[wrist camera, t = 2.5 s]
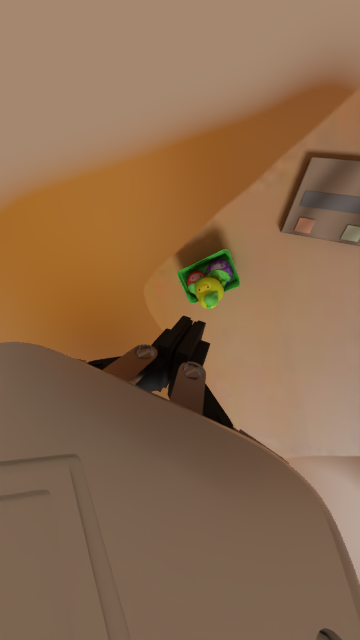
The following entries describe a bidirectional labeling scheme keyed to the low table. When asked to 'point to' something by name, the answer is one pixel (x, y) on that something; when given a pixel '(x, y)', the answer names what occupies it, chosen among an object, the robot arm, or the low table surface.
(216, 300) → the fruit basket
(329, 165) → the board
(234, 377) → the low table surface
